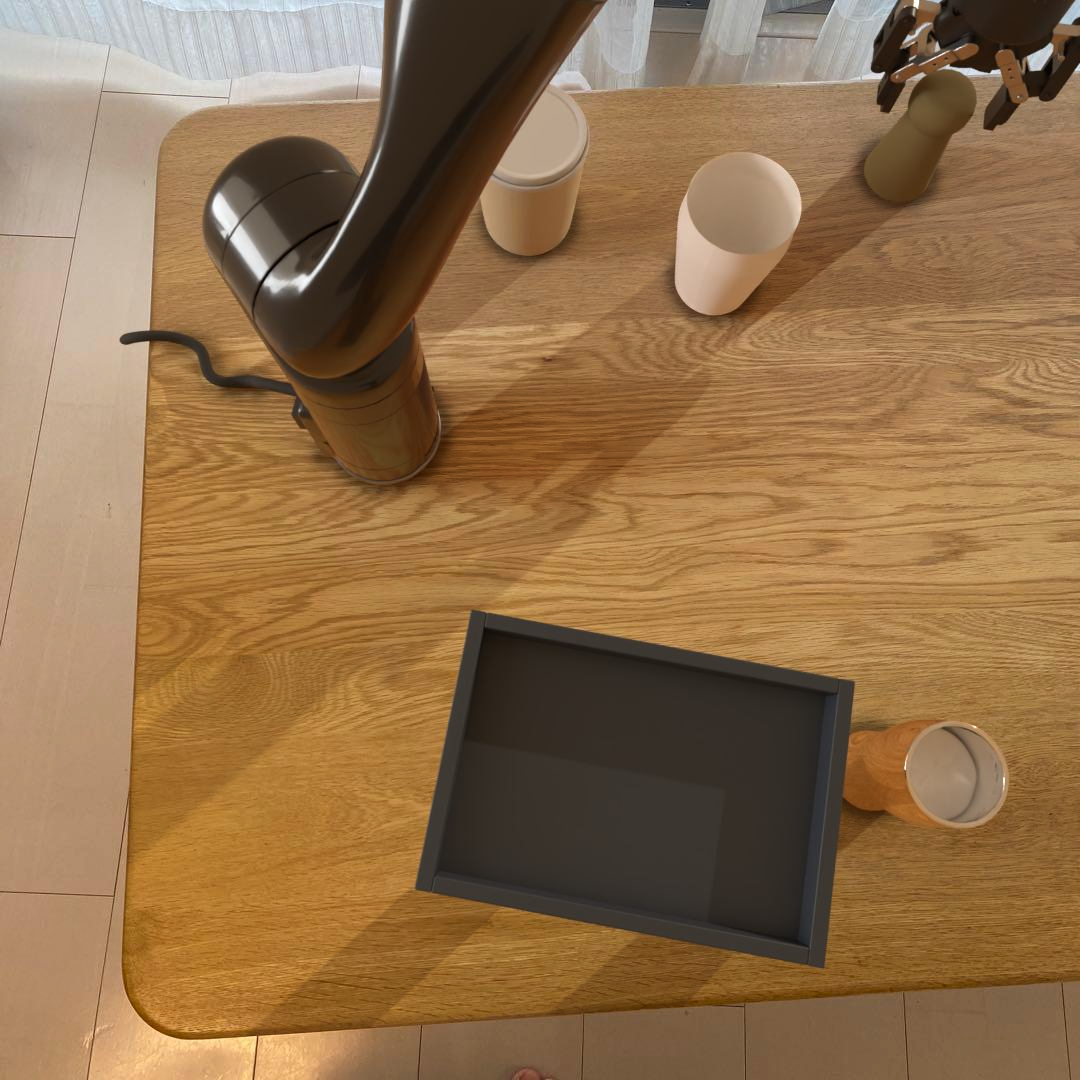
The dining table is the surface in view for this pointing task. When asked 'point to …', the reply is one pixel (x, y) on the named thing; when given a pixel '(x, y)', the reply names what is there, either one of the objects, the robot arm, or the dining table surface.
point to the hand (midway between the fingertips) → (935, 112)
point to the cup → (733, 230)
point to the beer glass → (927, 773)
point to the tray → (641, 788)
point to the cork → (920, 136)
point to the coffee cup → (538, 177)
